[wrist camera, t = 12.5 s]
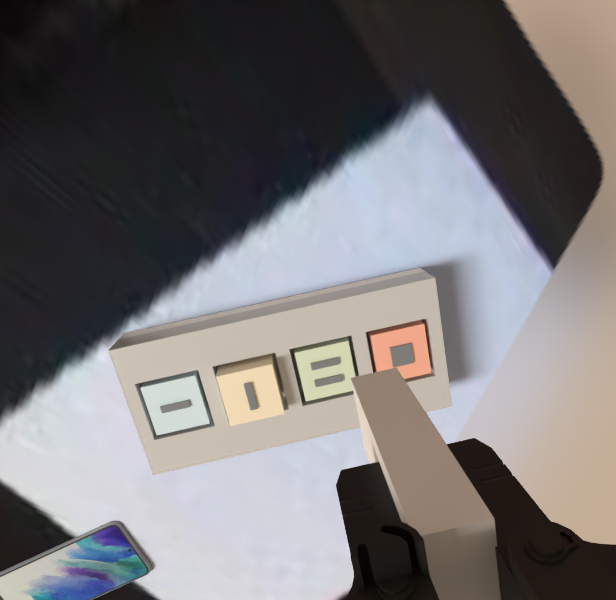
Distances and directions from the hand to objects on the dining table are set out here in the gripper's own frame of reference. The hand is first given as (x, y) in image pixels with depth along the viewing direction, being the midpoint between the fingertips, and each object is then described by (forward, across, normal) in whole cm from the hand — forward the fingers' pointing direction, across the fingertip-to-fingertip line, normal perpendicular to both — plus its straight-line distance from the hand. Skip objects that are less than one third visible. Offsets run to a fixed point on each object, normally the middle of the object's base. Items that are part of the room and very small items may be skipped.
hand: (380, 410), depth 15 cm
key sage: (+25, -1, -9) cm, 26 cm away
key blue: (+25, -14, -9) cm, 30 cm away
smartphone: (+27, -31, -27) cm, 49 cm away
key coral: (+25, +6, -9) cm, 27 cm away
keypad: (+26, -4, -9) cm, 28 cm away
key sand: (+23, -7, -9) cm, 26 cm away
